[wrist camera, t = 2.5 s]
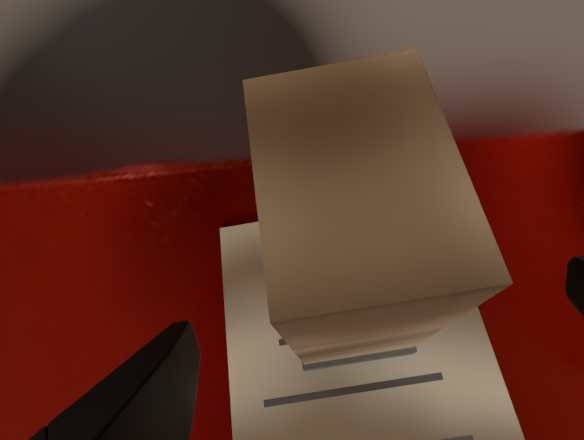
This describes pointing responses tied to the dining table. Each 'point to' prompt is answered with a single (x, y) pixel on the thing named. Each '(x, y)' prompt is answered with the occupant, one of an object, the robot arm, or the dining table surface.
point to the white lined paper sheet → (354, 375)
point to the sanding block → (364, 210)
